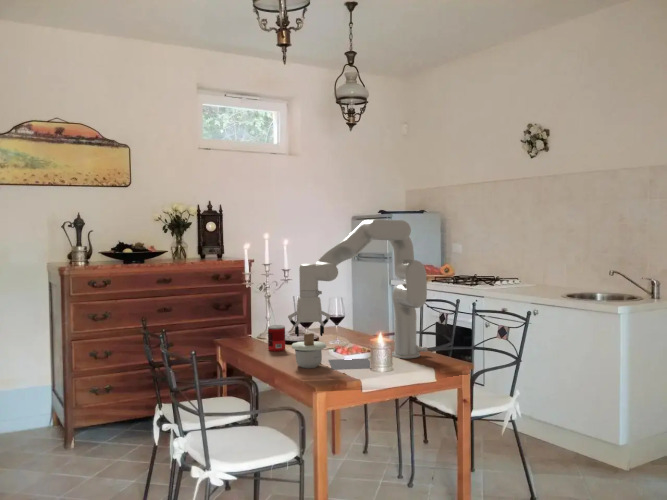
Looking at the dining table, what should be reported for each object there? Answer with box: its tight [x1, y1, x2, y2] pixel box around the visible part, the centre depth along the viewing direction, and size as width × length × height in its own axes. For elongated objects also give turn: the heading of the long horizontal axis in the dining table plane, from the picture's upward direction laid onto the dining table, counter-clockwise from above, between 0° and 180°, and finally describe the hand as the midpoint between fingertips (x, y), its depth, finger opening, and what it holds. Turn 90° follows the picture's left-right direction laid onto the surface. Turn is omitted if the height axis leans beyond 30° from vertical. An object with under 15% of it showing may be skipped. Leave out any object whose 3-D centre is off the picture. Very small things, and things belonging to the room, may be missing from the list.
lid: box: [291, 332, 327, 351], centre depth 241 cm, size 14×14×6 cm
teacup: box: [294, 349, 323, 369], centre depth 242 cm, size 14×11×8 cm
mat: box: [327, 357, 371, 371], centre depth 244 cm, size 17×17×1 cm
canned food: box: [267, 324, 286, 353], centre depth 273 cm, size 8×8×11 cm
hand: (309, 335), depth 241 cm, fingers open, 9 cm apart
